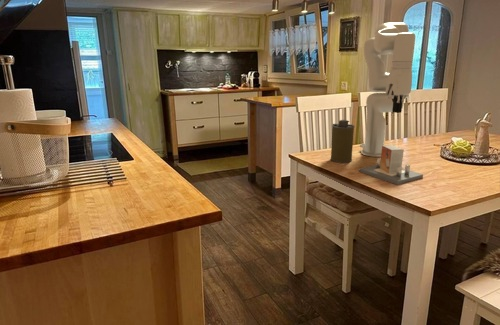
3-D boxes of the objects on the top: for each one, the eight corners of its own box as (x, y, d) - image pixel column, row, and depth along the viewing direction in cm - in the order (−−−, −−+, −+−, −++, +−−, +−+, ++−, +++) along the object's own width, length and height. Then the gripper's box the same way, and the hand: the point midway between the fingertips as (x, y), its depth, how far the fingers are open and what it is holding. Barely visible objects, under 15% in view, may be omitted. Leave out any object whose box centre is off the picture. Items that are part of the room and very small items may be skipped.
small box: (379, 168, 150) (381, 145, 147) (391, 167, 150) (393, 144, 147) (388, 173, 142) (391, 149, 139) (401, 173, 143) (404, 149, 140)
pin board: (359, 171, 151) (359, 167, 151) (383, 165, 159) (384, 162, 158) (396, 184, 135) (397, 180, 134) (422, 177, 142) (423, 173, 141)
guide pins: (371, 168, 151) (372, 159, 149) (382, 165, 154) (383, 157, 153) (399, 177, 139) (400, 168, 137) (410, 174, 142) (411, 165, 140)
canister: (356, 160, 168) (359, 120, 162) (343, 164, 162) (346, 123, 156) (338, 155, 176) (340, 117, 171) (325, 159, 170) (327, 120, 164)
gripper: (406, 65, 140) (401, 109, 146) (380, 66, 133) (376, 112, 139) (422, 65, 134) (416, 111, 139) (396, 66, 127) (391, 115, 132)
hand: (396, 112), depth 139 cm, fingers closed
